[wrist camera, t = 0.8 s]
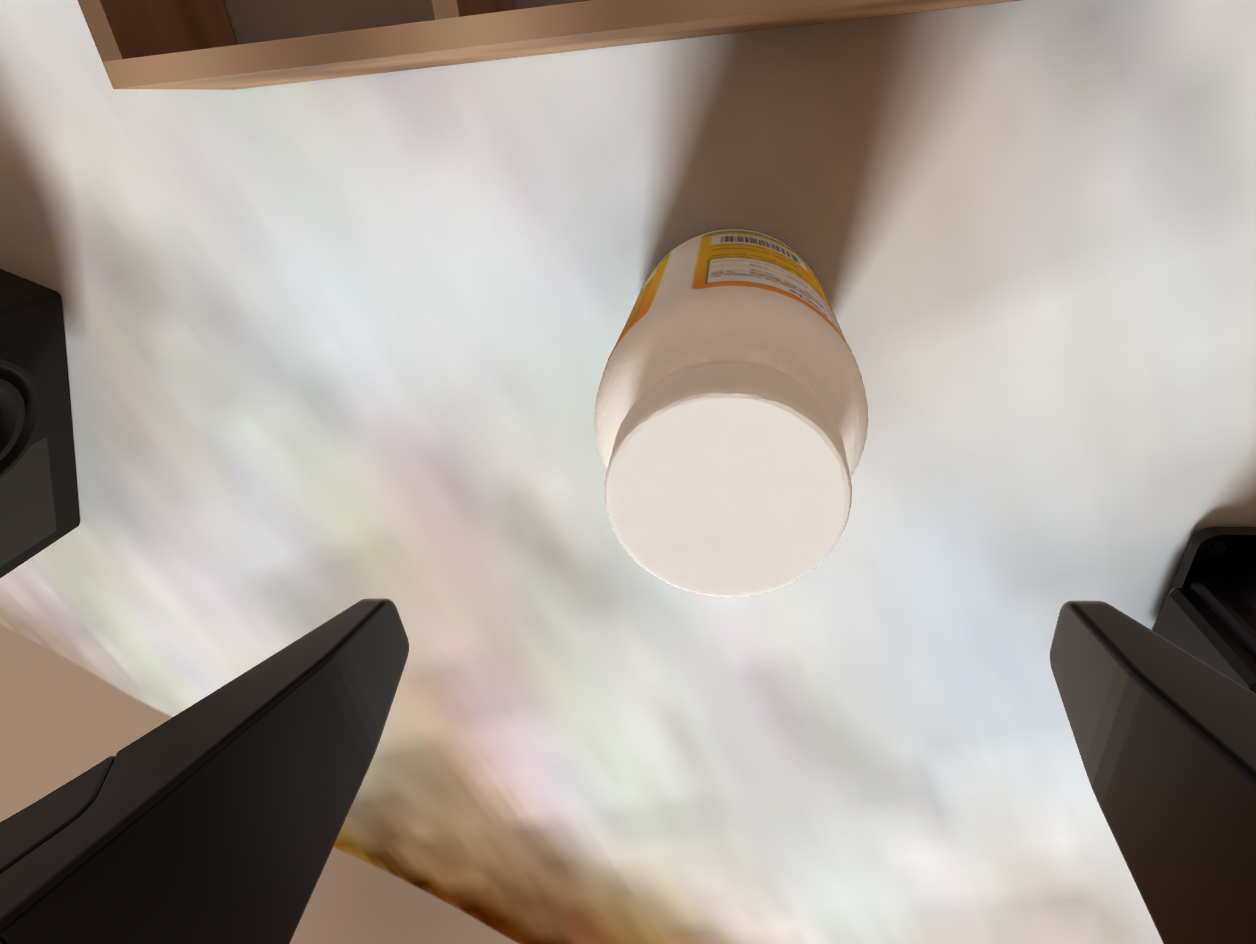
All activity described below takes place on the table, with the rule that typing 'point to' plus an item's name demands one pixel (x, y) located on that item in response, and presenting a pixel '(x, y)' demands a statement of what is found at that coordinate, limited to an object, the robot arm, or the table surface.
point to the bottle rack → (424, 36)
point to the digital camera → (33, 423)
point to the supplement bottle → (730, 419)
